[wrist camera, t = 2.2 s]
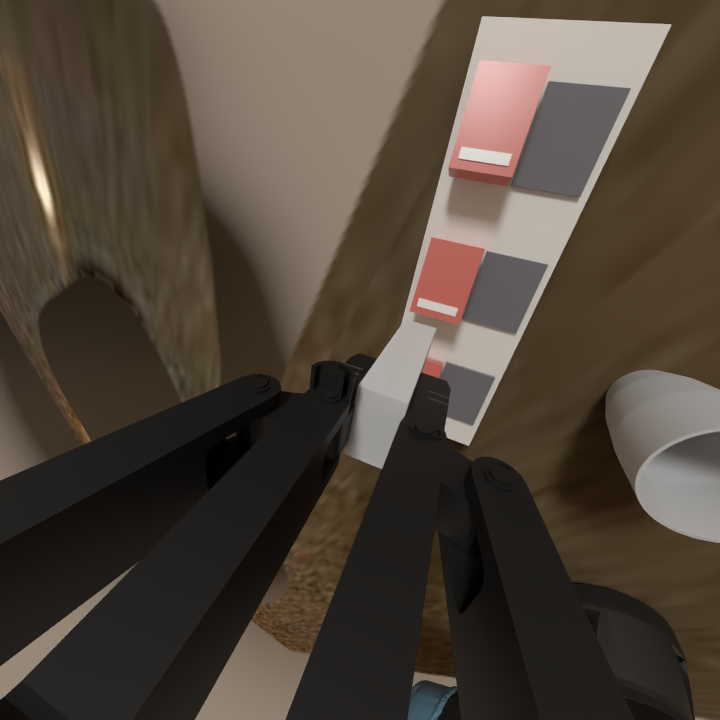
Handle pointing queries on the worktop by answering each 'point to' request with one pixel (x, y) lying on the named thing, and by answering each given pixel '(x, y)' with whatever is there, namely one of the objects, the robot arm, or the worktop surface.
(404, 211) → the worktop surface
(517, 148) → the block
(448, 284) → the plate
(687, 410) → the cup
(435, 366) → the rocker
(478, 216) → the power strip
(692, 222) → the worktop surface
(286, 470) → the robot arm
